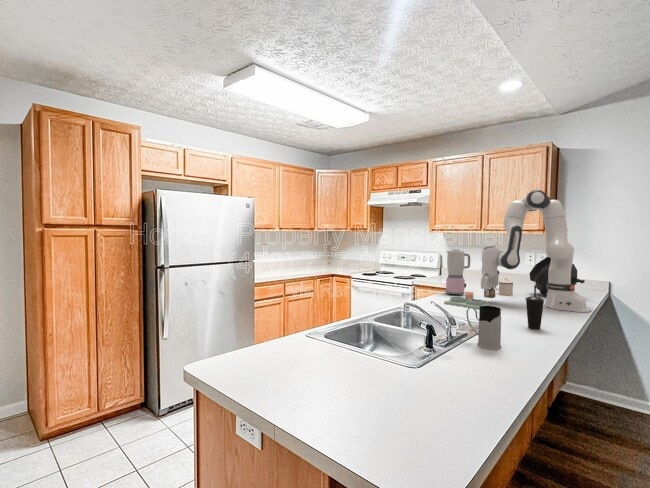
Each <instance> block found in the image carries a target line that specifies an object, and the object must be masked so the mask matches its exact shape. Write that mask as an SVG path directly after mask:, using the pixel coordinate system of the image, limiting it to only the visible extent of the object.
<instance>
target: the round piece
mask: <svg viewBox="0 0 650 488" xmlns="http://www.w3.org/2000/svg"><path fill="white" fill-rule="evenodd" d="M464 298H466V300H469V299H474V291H464Z"/></svg>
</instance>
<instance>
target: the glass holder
mask: <svg viewBox="0 0 650 488" xmlns="http://www.w3.org/2000/svg"><path fill="white" fill-rule="evenodd" d="M470 309H473V311H474V314H475V318H476V320H478V332H477V330H475V328H474V327H473V326H472V323H471V322H470V319H469V310H470ZM501 311H502V309H501V307H498V306H493V305H490V306H480V308H479V309H478V311H477V309H475V308H472V307H471V308H467V310H466V320H467V323H468V325H469V326H470V328H471V329H472V330H473V332H475V334H476V335H477V336H478V337H477V339H478V340H477V343H476V345H477V347H479V348H481V349H485V350H491V351H498V350H499V351H500V350H501V349H502V345H501V343H502V342H501V341H502V340H501V339H502V338H501V337H502V335H501V334H502V315H501V314H502V312H501ZM478 313H479V316H478ZM478 317H479V318H478Z"/></svg>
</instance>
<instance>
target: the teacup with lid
mask: <svg viewBox="0 0 650 488" xmlns="http://www.w3.org/2000/svg"><path fill="white" fill-rule="evenodd" d="M513 286H514V282H513V281H512V280H510V279H508V277H506V278H505V277H504V279H502V280H499V281H498V288H497V286H495V287H494V289H495V291H498V294H499V295H500V296H504V297H505V296H506V297H508V296H509V297H511V296H513V293H514V289H513V288H514V287H513Z"/></svg>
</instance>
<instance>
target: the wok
mask: <svg viewBox="0 0 650 488" xmlns="http://www.w3.org/2000/svg"><path fill="white" fill-rule="evenodd" d="M550 263H551V258H549V257H548V256H547V257H545V258H543V259H542V260H540V261H539V262H537V263H536V264H535V265H534V267H533V268H532V269H531V271H530V272H529V273H528V274H529V280H530V281H531V282H534V283H535V284H534V285H536V290H539V293H540V294H542V295H547V283H548V272H549V267H550ZM585 281H586V280H585V279H580V278H578V269H577V268H576V265H575V264H574V263H572V267H571V284H572V285H573V286H575V287H576V285H577V283H580V284H584V283H585Z"/></svg>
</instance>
